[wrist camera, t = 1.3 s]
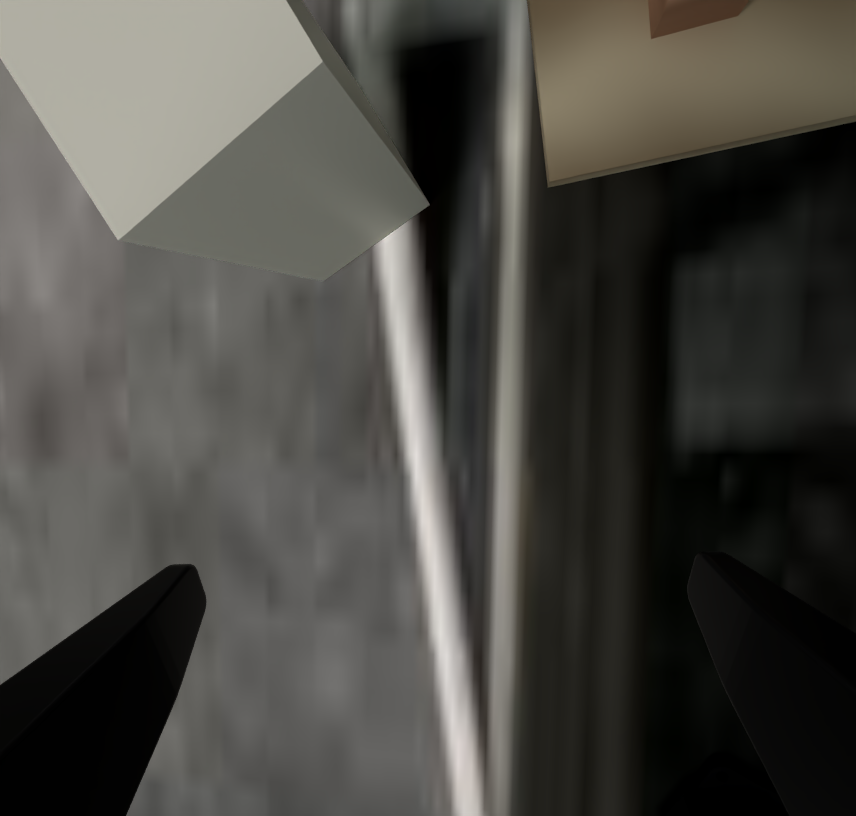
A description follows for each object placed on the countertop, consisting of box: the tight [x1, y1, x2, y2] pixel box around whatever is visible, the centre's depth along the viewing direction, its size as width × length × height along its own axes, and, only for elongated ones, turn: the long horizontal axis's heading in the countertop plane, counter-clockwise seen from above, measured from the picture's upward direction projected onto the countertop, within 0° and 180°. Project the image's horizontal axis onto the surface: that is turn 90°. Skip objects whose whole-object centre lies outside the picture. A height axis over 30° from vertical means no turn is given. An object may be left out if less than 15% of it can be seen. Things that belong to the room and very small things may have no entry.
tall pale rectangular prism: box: [0, 0, 430, 281], centre depth 14 cm, size 5×5×11 cm
